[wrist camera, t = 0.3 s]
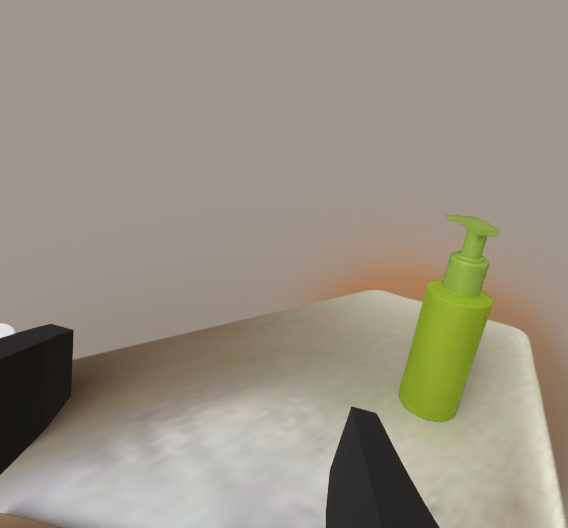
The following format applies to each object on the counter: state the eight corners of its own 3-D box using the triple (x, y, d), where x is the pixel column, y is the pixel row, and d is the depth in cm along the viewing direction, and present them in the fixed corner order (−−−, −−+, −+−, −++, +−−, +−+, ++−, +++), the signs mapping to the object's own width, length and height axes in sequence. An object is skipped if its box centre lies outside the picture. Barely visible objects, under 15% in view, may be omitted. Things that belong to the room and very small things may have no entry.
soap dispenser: (434, 377, 47) (483, 212, 39) (466, 421, 40) (533, 235, 33) (387, 377, 46) (428, 208, 38) (412, 422, 39) (468, 231, 32)
